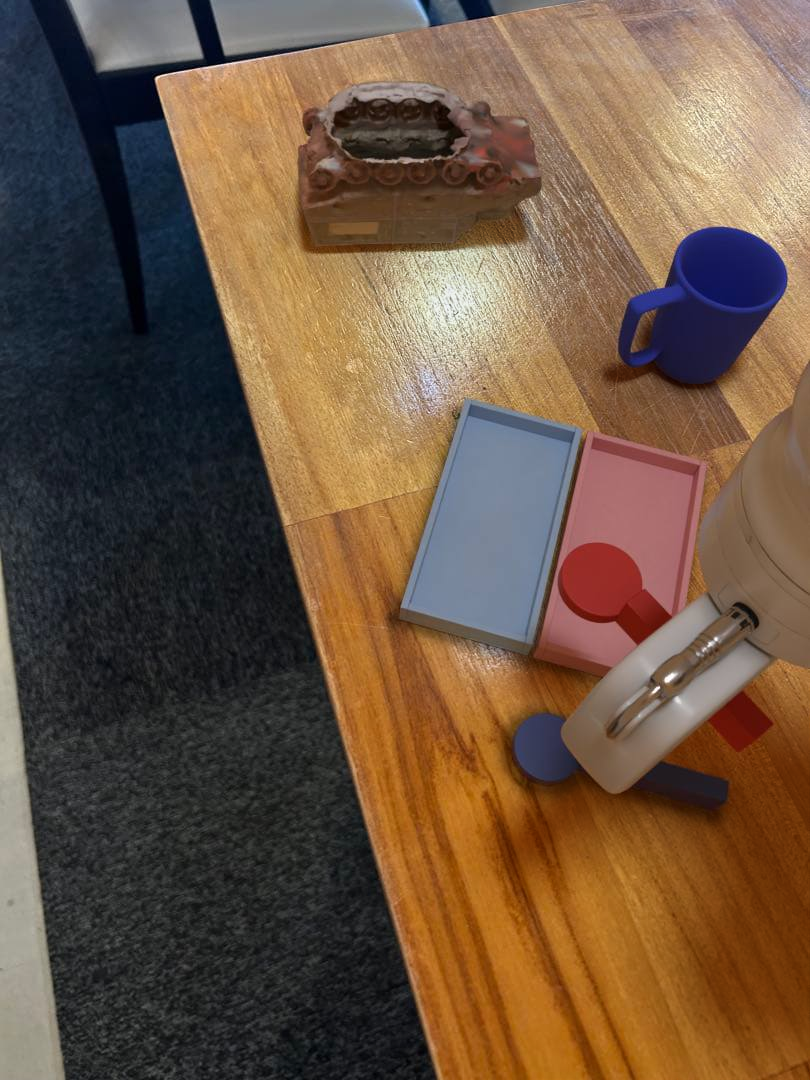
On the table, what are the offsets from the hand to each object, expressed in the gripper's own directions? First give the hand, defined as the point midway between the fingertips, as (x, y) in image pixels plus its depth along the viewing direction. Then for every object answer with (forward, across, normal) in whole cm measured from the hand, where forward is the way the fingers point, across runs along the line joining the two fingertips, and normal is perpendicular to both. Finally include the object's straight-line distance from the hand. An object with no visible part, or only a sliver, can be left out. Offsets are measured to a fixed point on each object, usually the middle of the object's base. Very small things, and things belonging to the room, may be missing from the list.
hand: (702, 674), depth 48 cm
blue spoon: (+15, -1, 0) cm, 15 cm away
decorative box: (+15, +20, +46) cm, 52 cm away
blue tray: (+15, +4, +18) cm, 24 cm away
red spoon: (+2, 0, +3) cm, 4 cm away
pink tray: (+15, +10, +10) cm, 21 cm away
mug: (+15, +26, +21) cm, 36 cm away
